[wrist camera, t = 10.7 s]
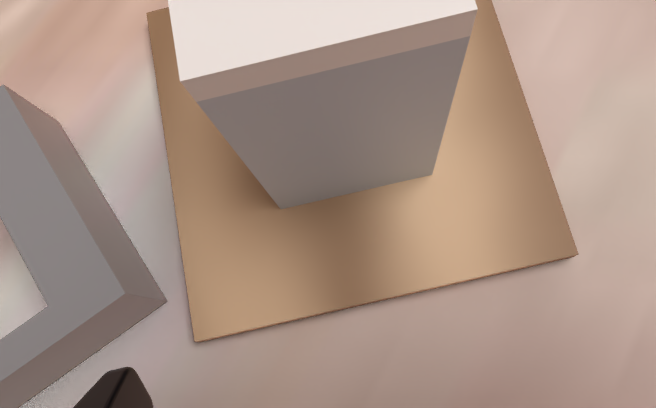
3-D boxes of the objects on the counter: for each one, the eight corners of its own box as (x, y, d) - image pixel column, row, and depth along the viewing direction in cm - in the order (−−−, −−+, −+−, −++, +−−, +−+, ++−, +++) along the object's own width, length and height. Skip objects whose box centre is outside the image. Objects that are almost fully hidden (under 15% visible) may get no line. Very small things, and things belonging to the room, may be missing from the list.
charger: (395, 39, 19) (403, -221, 10) (432, 174, 18) (477, 9, 9) (254, 73, 19) (144, -153, 10) (280, 209, 18) (180, 81, 9)
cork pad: (465, -58, 20) (467, -70, 20) (572, 257, 17) (578, 254, 16) (153, 22, 21) (146, 12, 20) (201, 342, 18) (194, 341, 17)
